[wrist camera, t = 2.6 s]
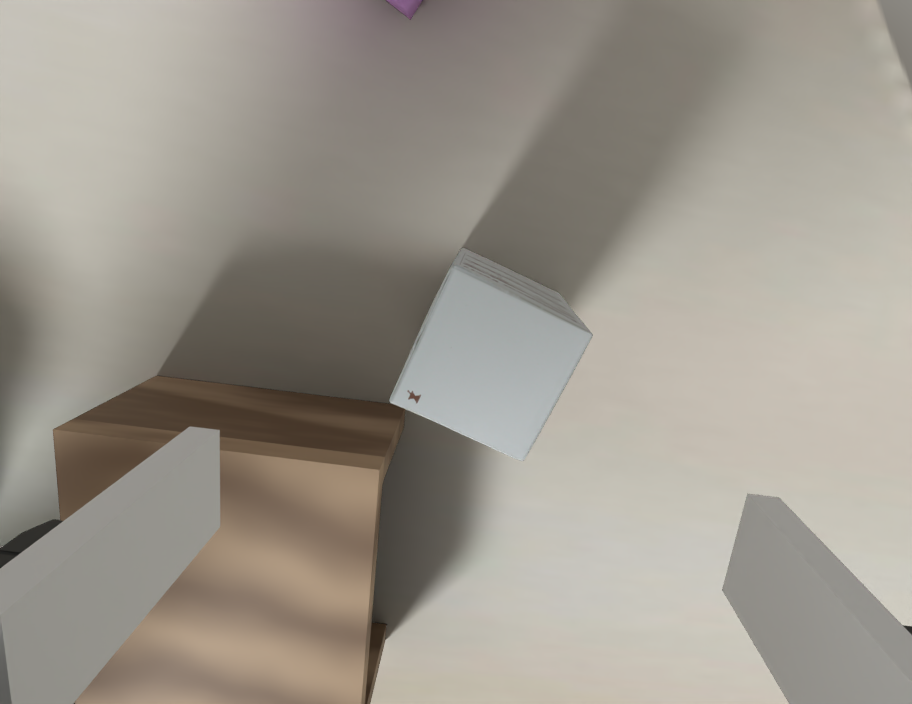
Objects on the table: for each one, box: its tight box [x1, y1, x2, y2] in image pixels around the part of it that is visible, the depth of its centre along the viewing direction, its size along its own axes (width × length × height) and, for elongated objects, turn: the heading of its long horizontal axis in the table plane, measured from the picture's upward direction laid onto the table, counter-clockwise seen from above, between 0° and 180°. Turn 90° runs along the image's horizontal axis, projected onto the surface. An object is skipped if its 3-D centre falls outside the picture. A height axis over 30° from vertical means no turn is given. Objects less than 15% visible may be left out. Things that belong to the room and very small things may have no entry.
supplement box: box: [389, 248, 593, 461], centre depth 32 cm, size 7×7×13 cm
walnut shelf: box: [53, 376, 405, 704], centre depth 38 cm, size 20×18×10 cm
